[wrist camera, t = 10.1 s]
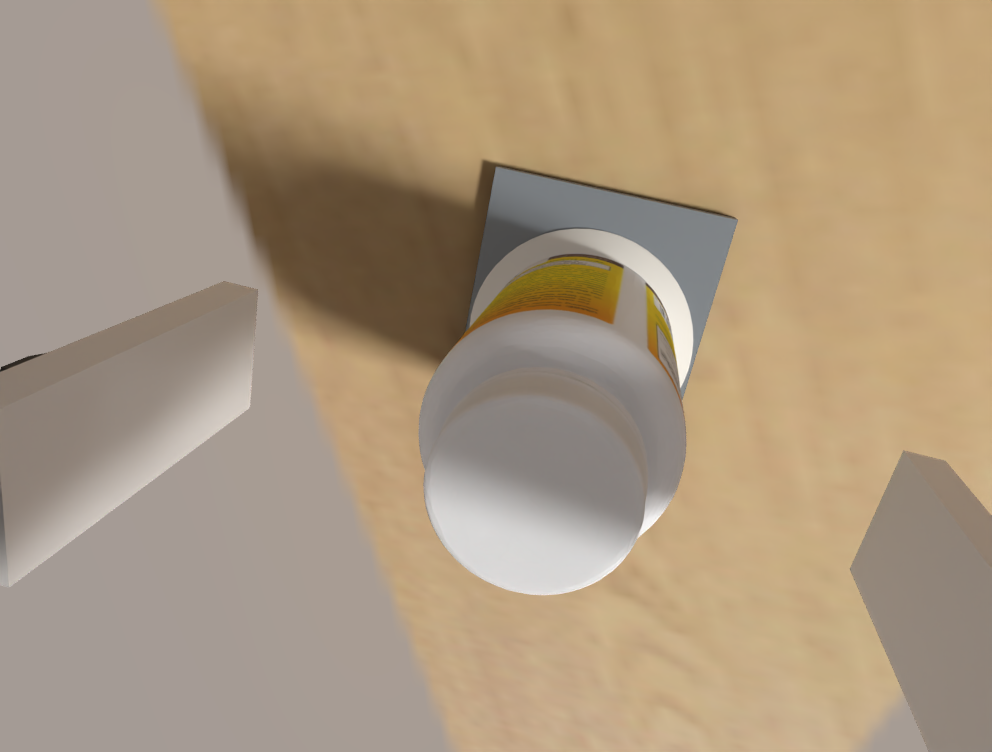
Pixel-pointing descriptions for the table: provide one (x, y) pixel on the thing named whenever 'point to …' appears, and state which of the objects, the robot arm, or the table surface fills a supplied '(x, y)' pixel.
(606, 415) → the supplement bottle
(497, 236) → the seat plate
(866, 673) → the table surface
